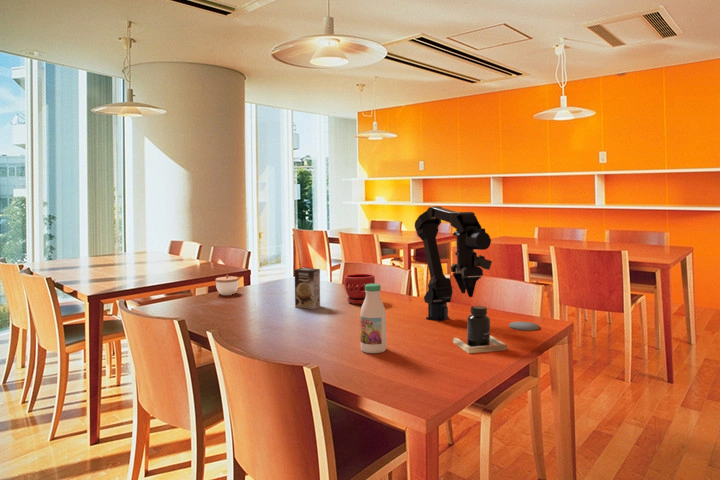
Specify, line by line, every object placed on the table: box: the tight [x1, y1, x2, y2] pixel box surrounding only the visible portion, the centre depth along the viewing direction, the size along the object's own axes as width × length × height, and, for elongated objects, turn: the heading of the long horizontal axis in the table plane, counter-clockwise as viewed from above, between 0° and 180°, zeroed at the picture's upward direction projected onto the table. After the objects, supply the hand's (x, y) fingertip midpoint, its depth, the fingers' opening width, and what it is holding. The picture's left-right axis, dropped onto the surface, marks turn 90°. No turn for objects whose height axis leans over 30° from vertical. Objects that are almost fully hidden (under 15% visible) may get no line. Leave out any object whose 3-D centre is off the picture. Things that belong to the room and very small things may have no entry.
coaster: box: [508, 321, 540, 332], centre depth 171 cm, size 10×10×1 cm
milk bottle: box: [359, 283, 387, 354], centre depth 147 cm, size 8×8×20 cm
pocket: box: [452, 334, 508, 354], centre depth 151 cm, size 11×12×2 cm
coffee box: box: [294, 267, 321, 310], centre depth 207 cm, size 9×6×16 cm
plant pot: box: [344, 273, 376, 305], centre depth 215 cm, size 13×13×12 cm
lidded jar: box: [215, 274, 239, 296], centre depth 236 cm, size 11×11×9 cm
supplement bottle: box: [466, 305, 491, 347], centre depth 151 cm, size 7×7×12 cm
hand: (467, 295), depth 166 cm, fingers open, 9 cm apart
